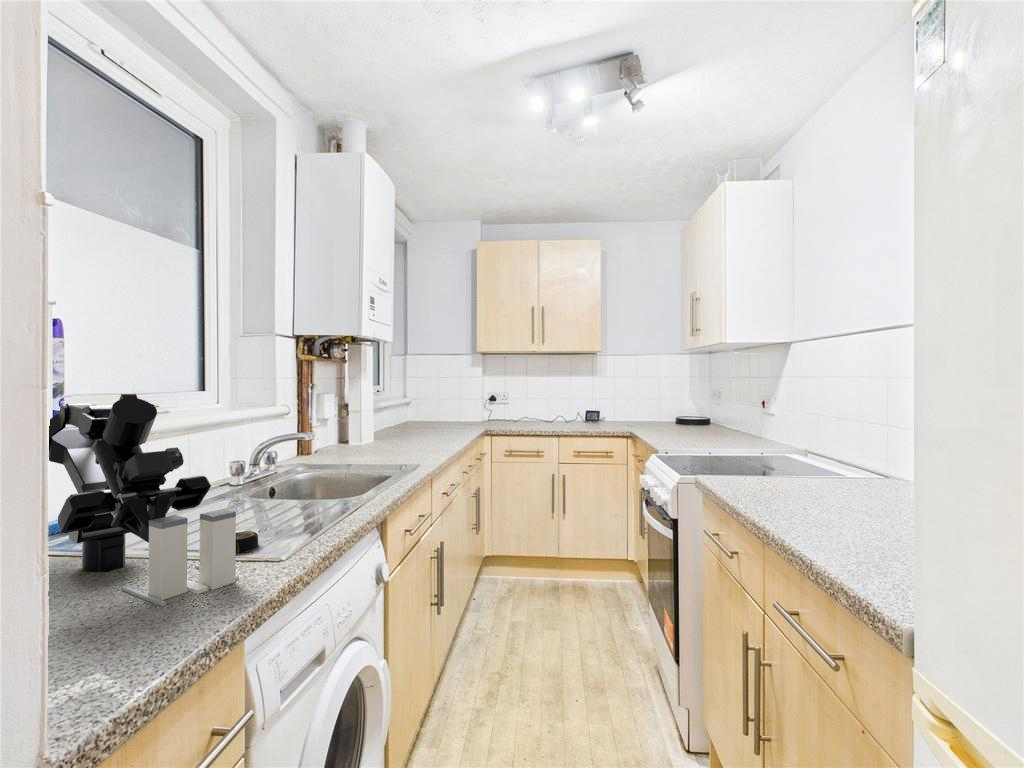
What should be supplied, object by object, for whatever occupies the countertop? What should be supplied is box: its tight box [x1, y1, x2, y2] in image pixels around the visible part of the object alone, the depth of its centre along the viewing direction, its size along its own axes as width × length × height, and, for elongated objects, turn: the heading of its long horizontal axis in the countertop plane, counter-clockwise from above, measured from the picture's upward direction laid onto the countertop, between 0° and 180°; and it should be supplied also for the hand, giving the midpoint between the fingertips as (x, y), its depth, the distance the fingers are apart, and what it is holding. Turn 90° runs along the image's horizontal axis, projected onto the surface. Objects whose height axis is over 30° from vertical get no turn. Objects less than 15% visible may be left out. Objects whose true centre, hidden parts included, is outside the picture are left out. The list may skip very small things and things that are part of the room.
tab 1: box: [148, 514, 188, 601], centre depth 73 cm, size 4×4×11 cm
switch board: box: [121, 564, 240, 607], centre depth 77 cm, size 14×11×2 cm
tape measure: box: [236, 530, 259, 554], centre depth 94 cm, size 7×7×4 cm
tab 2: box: [199, 508, 237, 591], centre depth 77 cm, size 4×4×11 cm
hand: (160, 545), depth 74 cm, fingers closed, pressing on tab 1
